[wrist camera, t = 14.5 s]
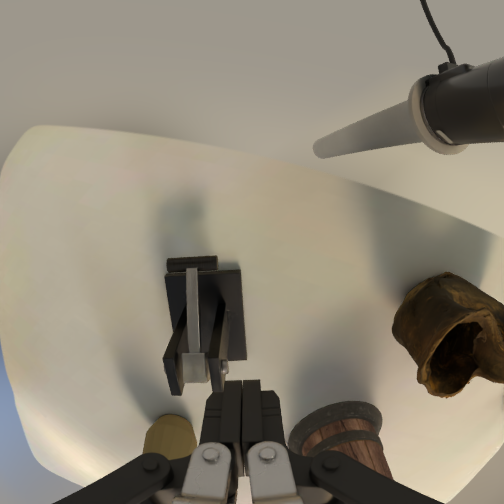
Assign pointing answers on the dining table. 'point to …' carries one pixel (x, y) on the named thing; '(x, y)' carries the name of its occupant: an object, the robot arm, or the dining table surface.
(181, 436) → the squeeze bottle
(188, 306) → the lever
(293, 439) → the tankard
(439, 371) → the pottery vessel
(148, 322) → the dining table surface
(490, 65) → the robot arm
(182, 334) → the bracket
